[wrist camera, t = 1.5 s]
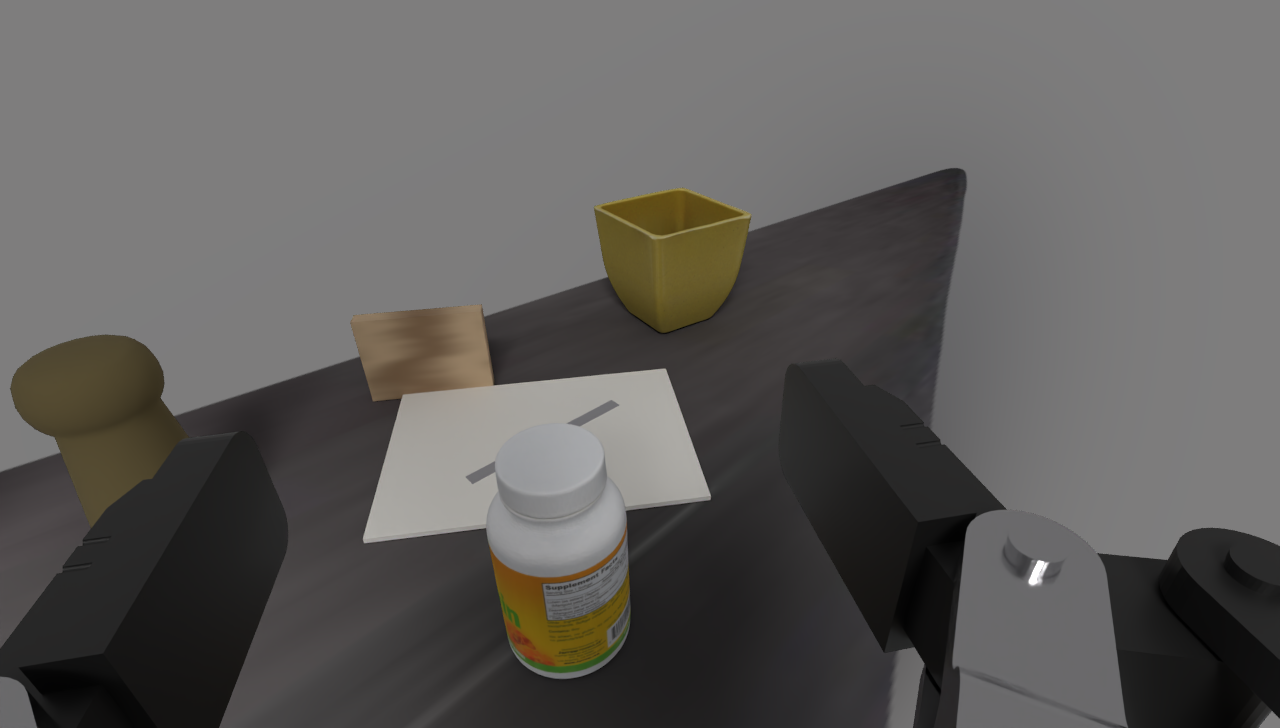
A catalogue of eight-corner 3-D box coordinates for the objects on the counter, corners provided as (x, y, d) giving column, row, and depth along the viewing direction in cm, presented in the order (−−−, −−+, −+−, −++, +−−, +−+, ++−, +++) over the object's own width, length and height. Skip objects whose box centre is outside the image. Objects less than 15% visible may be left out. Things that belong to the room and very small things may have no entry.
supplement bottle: (498, 596, 30) (464, 429, 25) (609, 563, 31) (598, 399, 26) (521, 702, 26) (485, 527, 20) (648, 658, 27) (645, 484, 22)
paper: (364, 543, 33) (362, 538, 32) (403, 398, 44) (402, 394, 43) (710, 500, 35) (710, 495, 35) (665, 372, 46) (665, 368, 46)
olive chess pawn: (207, 477, 37) (123, 306, 31) (261, 521, 34) (179, 341, 28) (84, 543, 33) (-39, 360, 27) (133, 600, 30) (6, 408, 24)
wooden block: (373, 401, 43) (350, 322, 40) (376, 392, 44) (353, 314, 41) (494, 389, 44) (481, 311, 41) (494, 380, 45) (481, 303, 42)
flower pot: (681, 283, 58) (682, 184, 54) (746, 321, 52) (754, 212, 47) (597, 310, 54) (590, 205, 49) (657, 353, 48) (656, 238, 43)
